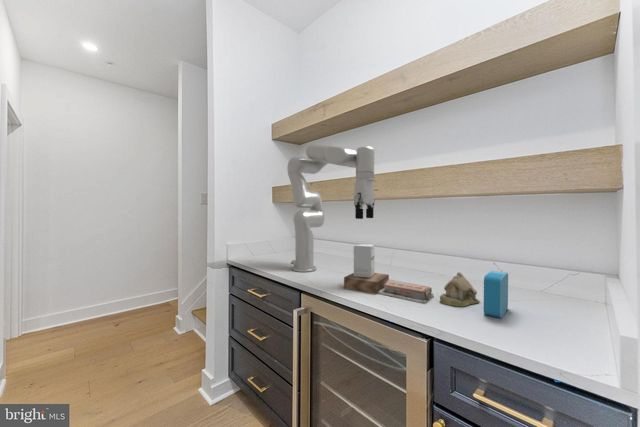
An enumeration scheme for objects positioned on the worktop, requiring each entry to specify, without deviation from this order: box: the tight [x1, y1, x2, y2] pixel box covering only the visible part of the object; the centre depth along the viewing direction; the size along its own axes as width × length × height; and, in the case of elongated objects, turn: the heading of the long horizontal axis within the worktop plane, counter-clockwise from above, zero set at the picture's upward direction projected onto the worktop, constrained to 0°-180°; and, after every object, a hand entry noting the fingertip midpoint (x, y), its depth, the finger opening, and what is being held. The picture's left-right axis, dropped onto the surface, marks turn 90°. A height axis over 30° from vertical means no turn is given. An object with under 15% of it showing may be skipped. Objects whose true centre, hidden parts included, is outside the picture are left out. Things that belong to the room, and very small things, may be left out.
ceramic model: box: [439, 272, 480, 307], centre depth 96 cm, size 14×11×10 cm
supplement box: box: [353, 243, 375, 278], centre depth 113 cm, size 7×7×13 cm
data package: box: [483, 270, 509, 319], centre depth 85 cm, size 12×4×12 cm, turn 137°
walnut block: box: [343, 272, 390, 295], centre depth 113 cm, size 14×14×5 cm
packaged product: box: [377, 279, 435, 305], centre depth 102 cm, size 18×5×10 cm
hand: (364, 218), depth 114 cm, fingers open, 9 cm apart
